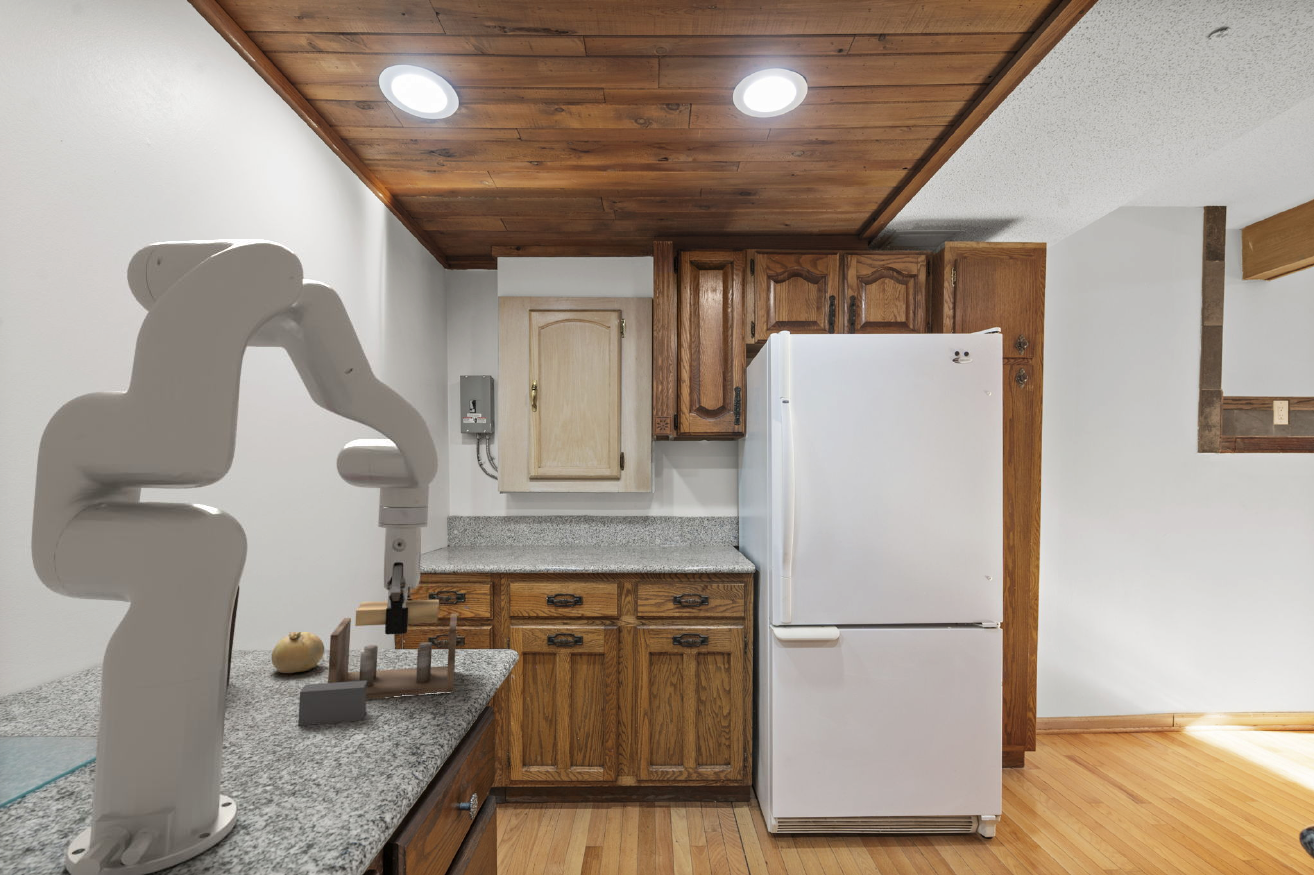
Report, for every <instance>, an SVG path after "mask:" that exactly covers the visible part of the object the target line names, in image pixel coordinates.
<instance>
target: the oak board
mask: <svg viewBox="0 0 1314 875" xmlns="http://www.w3.org/2000/svg"><path fill="white" fill-rule="evenodd" d="M439 603H440V599H417V600H416V599H415V600H413V599H412V600H410V601H407V605H406V607H408V624H427V623H428V624H431V623H437V622H438V617H439V610H440V609H439V608H440V606H439V605H440V604H439ZM387 604H388V600H386V601H385V600H384V601H381V600H380V601H362V602H361V603H360V604H359V606H358V608H356V610H355V625H354V626H355V627H361V626H363V627H365V626H366V627H367V626H380V625H381V626H383V625H385V623H386V608H387ZM408 624H407V625H408Z"/></svg>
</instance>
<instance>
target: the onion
mask: <svg viewBox="0 0 1314 875" xmlns="http://www.w3.org/2000/svg"><path fill="white" fill-rule="evenodd" d="M325 649H326V648H325V645H324V642H323V641H322V639H321V638H320V637H319V635H316V634H314V633H312V632H310V631H302V632H301V631H300V632H299V631H289V634H288V635H286V636H284V637H283V638H281V639H280V640H279V641H278V642H277V643H276V645H275V646H274V648H273V650H272V651H271V652H272V653H271V663H272V665H273V667H274V668H275V669H276V671H277V672H279V673H281V674H294V673H301V672H306V671H309V670H312V669H314V668H316V667H318V663H319V662H320V661H321V660H322V658H323V656H324V654H325Z"/></svg>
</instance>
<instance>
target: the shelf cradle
mask: <svg viewBox="0 0 1314 875" xmlns="http://www.w3.org/2000/svg"><path fill="white" fill-rule="evenodd" d="M457 617H458V613H450V619H449V620H450V621H449V630H448V647H447V648H448V651H447V665H445V666H443V665H440V666H432V654H433V653H432V651H433V650H432V648H433V643H432V642H429V641H427V642H420V643H419V644H418V649H417V652H416V654H417V657H416V667H412V668H399V669H398V668H395V669H394V668H393V669H382V670H381V669H380V670H377V669H378V649H379V648H378V647H379V645H376V644H374V645H373V644H371V645H370V644H369V645H365V646H364V647H363V652H361V653H360V661H359V663H360V664H359V671H351V672H349V665H350V664H349V663H350V662H349V660H350V642H351V622H352V620H351V617H344V618H343V619H342V620H341V621H340V623H339V624H338V625H337V627H336V628H335V629H334V630H333V632H332V633H330V639H329V641H330V642H329V657H328V658H329V659H328V661H329V662H328V681H327V683H337V682H351V681H366V680H367V693H366V701H369V700H370V699H372V700H382V699H381V698H385V697H394V696H402V695H419V694H425V693H437V692H452V691H453V692H454V687H455V686H454V684H455V672H454V671H455V668H456V667H455V666H456V641H457V640H456V639H457V622H458V620H457ZM385 699H386V698H385ZM370 701H371V700H370Z"/></svg>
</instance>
